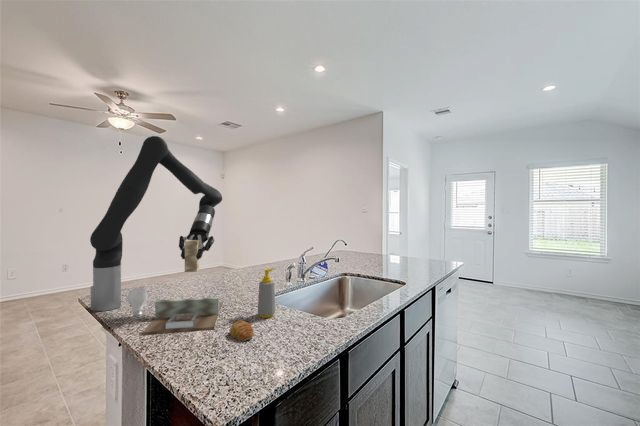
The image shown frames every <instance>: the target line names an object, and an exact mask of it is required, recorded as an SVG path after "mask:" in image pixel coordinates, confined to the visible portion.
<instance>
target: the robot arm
mask: <svg viewBox="0 0 640 426" xmlns="http://www.w3.org/2000/svg"><path fill="white" fill-rule="evenodd" d="M158 165H161V166H163V167H164V168H165V169H166V170H168V171H169V172H170V174H172V175H173V176H174V177H175V178H176V179H177V180H178V181H179V182H180V183H181V184H182V185H183V186H185V188H187V189H188V191H189V192H191V193H192V194H193V195H198V194H202V195H203V196H202V197H201V198H200V200H199V202H198V203H199V204H198V210H197V213H196V216H195V218H194V220H193V222H192V224H191V227H190V229H189V233H188V235H187V236H184V235H179V242H178V248H179V250H180V251H181V253H180V257H181V259H182V260H185V241H187V240H199V249H198V252H197V255H196V258H197V259H199V260H201V258H202V256H203V254H204V252H205V251H206V252H208V251H210V249H211V248H212V245H213V244H214V243H215V238H214V236H213V235H211V236H209V235H210V232H211V228H213V227H212V226H213V221H214V217H215V214H216V210H215V208H214V207H216V206H217V205H219V204H220V203H221V202H223V195H222V193H221V192H220V191H219V190H218V189H217V188H215V187H213V186H211V185H209V184H208V183H206V182H204V180H202V179H201V178H200V177H198V175H196V174H195V172H193V171H192V170H191V169H190V168H188V167H187V166H186V165H184V164H183V163H182V162H181V161H180V160H179V159H177V158H176V156H175V155H174V154H173V153H172V152H171V150H170V149H169V148H168V144H167V142H166V141H165V140H164V138H162V137H160V136H155V135H151V136H148V137H146V139H144V140H143V142H142V145H141V149H140V151H139V154H138V155H137V158H136V160H135V162H134V164H133V165H132V167H131V168H130V169H129V171H128V172H127V173H126V175H125V177H124V179H123V180H122V181H121V183H120V185H119V186H118V189H117V190H116V192H115V194H114V196H113V198H112V200H111V201H110V204H109V207H108V209H107V210H106V213H105V214H104V216H103V217H102V219H101V220H100V222H99V224H98V225H97V226H96V228H94V230H93V232H92V233H91V235H90V237H89V238H90V239H89V241H90V245H91V247H93V249H94V250H95V255H94V259H93V261H92V283H93V284H92V285H91V286H90V311H94V312H106V311H111V310H115V309H117V308H120V307H121V306H122V259H123V241H124V240H123V233H122V229H123V227H124V225H125V223H126V222H127V220H128V219H129V218H130V216H131V215H132V214H133V213H134V211H135V210H136V209H137V208H138V206H139V205H140V203H141V202H142V200H143V198H144V197H145V195H146V193H147V190H148V188H149V185H150V183H151V180H152V177H153V174H154V172H155V169H156V168H157V167H158ZM204 243H206V244H205V245H204Z"/></svg>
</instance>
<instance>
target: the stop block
mask: <svg viewBox="0 0 640 426" xmlns="http://www.w3.org/2000/svg"><path fill="white" fill-rule="evenodd" d="M184 245H185V259H184V273H193V272H194V273H196V272H199V270H200V259H197V258H196V255H197V252H198V249H200V247H199V240H188V239H187V240H186V241H185V242H184Z"/></svg>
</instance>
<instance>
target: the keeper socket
mask: <svg viewBox="0 0 640 426" xmlns="http://www.w3.org/2000/svg"><path fill="white" fill-rule="evenodd" d="M197 319H198V313H186V314H173V315H172V316H171V318H170V319H169V320H168V321H167V323H166V330H168V329H181V328H193V327H194V325H195V323H196V321H197ZM178 320H191V321H181V322H175V321H178Z"/></svg>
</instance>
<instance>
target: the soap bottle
mask: <svg viewBox="0 0 640 426" xmlns="http://www.w3.org/2000/svg"><path fill="white" fill-rule="evenodd" d="M273 270H275V268H273V267H272V268H271V267H270V268H266V269H263V271H264V276H263V278H262V279H261V281H259V283H258V297H257V298H258V299H257V314H258V316H259V317H260V318H262V319H267V318H268V319H269V318H272V317H274V315H275V313H276V292H275V291H276V290H275V281H274V280H272V278H271V276H270V275H269V274H270V273H269V272H271V271H273Z"/></svg>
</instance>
